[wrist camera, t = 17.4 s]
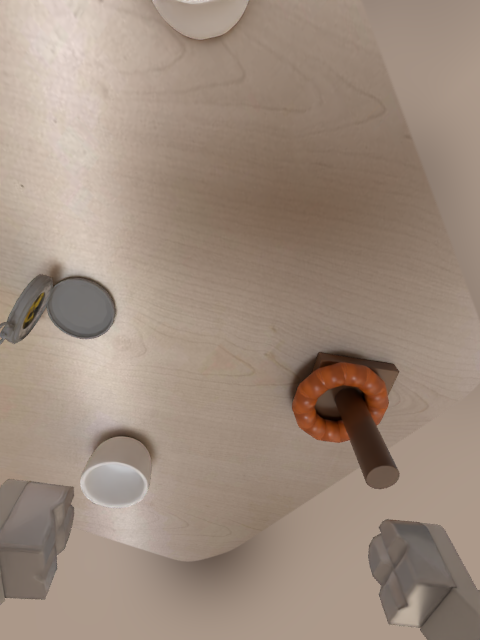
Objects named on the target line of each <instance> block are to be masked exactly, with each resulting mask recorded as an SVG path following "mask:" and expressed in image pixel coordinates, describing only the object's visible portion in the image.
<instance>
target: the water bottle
mask: <svg viewBox="0 0 480 640" xmlns="http://www.w3.org/2000/svg"><path fill="white" fill-rule="evenodd" d="M152 1H153V4H154V5H155V7H156V9H157V11H158V12H159V13H160V15H161V16H162V17H163V19H164V20H165V21H166V22H167V23H168V24H169V25H170V26H171V27H172V28H173V29H175V30H176V31H178V32H179V33H181V34H182V35H185V36H187V37H190V38H193V39H198V40H203V39H208V38H212V37H217V36H220V35H223V34H225V33H226V32H228V31H229V30H230V29H231V28H232V27H234V25H235V24H236V23H237V22H238V21H239V19H240V18H241V16H242V15H243V13H244V11H245V9H246V7H247V4H248V2H249V0H152Z"/></svg>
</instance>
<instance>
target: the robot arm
mask: <svg viewBox="0 0 480 640" xmlns="http://www.w3.org/2000/svg"><path fill="white" fill-rule="evenodd" d="M73 497H74V487H71V486H63V485H55V484H47V483H39V482H31V481H24V480H15V479H8V480H6V481H5V482H4V483H3V484H2V485H1V487H0V605H1V604H2V603H3V602H4V601H5V598H21V599H45V598H46V595H47V593H48V590H49V587H50V585H51V583H52V580H53V577H54V575H55V572H56V570H57V555H58V554H59V553H61V552H62V551H63V550H64V549H65V546H66V543H67V541H68V538H69V535H70V531H71V528H72V524H73V518H74V507H73V506H72V505H71V502H72V500H73ZM379 529H380V531H381V534H379V535H377V536H375V537H373V539H372V541H371V543H370V545H369V555H368V558H369V564H370V568H371V572H372V575H373V577H374V578H375V579H376V580H377V581H378V583H379V584H380V585H381V589H380V593H379V597H380V600H381V603H382V606H383V609H384V611H385V615H386V618H387V621H388V624H390V625H399V626H409V627H418V628H421V629H420V630H421V632H422V633H423V635H424V636H425V637H426V638H427V640H480V590H477V588H476V586H475V584H474V583H473V581H472V579H471V577H470V575H469V573H468V572H467V570H466V568H465V566H464V564H463V563H462V561H461V559H460V557H459V555H458V553H457V552H456V549H455V548H454V546H453V544H452V543H451V540H450V538H449V537H448V535H447V533H446V531H445V530H444V528H442V527H441V526H440V525H437V524H427V523H420V522H412V521H400V520H388V519H387V520H384V521H383V522H382V524H381V525H380V527H379Z"/></svg>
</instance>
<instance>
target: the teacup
mask: <svg viewBox="0 0 480 640" xmlns="http://www.w3.org/2000/svg"><path fill="white" fill-rule="evenodd" d="M151 471H152V462H151V457H150V454H149V452H148V450H147V448H146V447H145V446H144V445H143V444H142V443H141V442H139V441H138V440H136V439H133V438H130V437H124V436H120V437H113V438H110V439H108V440H106V441H104V442H103V443H101V444H100V445H99V446H98V447H97V448H96V450H95V451H94V452H93V454H92V455H91V457H90V458H89V460H88V462H87V464H86V466H85V468H84V470H83V472H82V475H81V481H80V485H81V489H82V492H83V493H84V495H85V496H86V497H87V498H88V499H89V500H91V501H92V503H93V504H98V505H100V506H103V507H108V508H125V507H129V506H132V505H134V504H136V503H138V502H140V501H141V500H142V499H143V498H144V497H145V495H146V493H147V491H148V489H149V485H150V479H151Z"/></svg>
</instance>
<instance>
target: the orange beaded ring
mask: <svg viewBox="0 0 480 640" xmlns="http://www.w3.org/2000/svg"><path fill="white" fill-rule="evenodd" d="M342 385H346V386H353V387H357V388H359V389H360V390H361V391H362V392H363V393H364V396H365V404H366V406H367V408H368V410H369V412H370V414H371V416H372V418H373V420H374V422H375V424H376V426H377V425H378V424H379V423H380V422H381V420H382V418H383V415H384V413H385V411H386V409H387V407H388V404H389V400H388V395H387V390H386V385H385V382H384V381H383V380H382V379H381V378H380V377H379V376H378V375H377V374H375V373H374V372H373V371H372V370H371V369H370V368H368V367H367V366H364V365H358V364H352V363H346V362H339V363H336V364H332V365H329V366H325V367H321V368H318V369H316V370H315V371H314V372H313V373H312V374H310V375H309V376H308V377H307V378H306V379H305V380H303V381H302V382H301V383H300V384H299V386H298V388H297V391H296V394H295V397H294V400H293V403H292V409H293V412H294V415H295V418H296V421H297V424H298V426H299V427H300V428H301V429H302V430H303V431H305V432H306V433H308V434H309V435H311V436H312V437H313V438H315V439H317V440H322V441H329V442H337V443H340V442H344V441H348V440H350V439H349V437H348V434H347V432H346V429H345V426H344V424H343V421H342V420H338V421H333V420H326V419H323V418H322V417H320V416H319V415H317V414H316V410H315V405H316V402H317V399H318V398H319V397H320V396H321V395H322V394H324V393H325V392H326V391H327V390H328V389H332V388H335V387H339V386H342Z"/></svg>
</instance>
